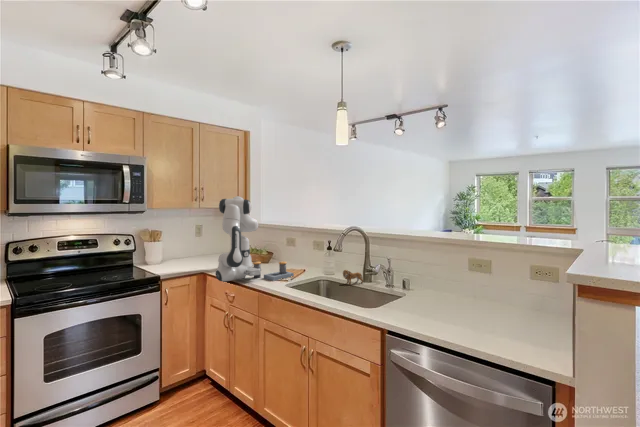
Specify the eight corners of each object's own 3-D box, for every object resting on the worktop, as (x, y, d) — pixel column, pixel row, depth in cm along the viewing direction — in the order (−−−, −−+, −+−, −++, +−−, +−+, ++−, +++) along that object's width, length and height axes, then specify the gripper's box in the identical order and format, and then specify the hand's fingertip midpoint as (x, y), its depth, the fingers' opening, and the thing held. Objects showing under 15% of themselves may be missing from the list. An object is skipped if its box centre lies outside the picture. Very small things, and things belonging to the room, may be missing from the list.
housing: (263, 278, 222) (263, 274, 222) (283, 274, 234) (283, 270, 234) (273, 280, 214) (273, 277, 214) (293, 276, 226) (293, 273, 226)
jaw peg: (251, 276, 225) (251, 262, 225) (258, 275, 229) (258, 261, 229) (256, 278, 221) (255, 263, 221) (263, 276, 225) (262, 262, 225)
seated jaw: (277, 276, 227) (276, 262, 226) (283, 275, 231) (283, 261, 230) (282, 277, 223) (282, 263, 222) (288, 276, 227) (288, 262, 226)
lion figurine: (344, 285, 202) (344, 270, 201) (341, 283, 207) (341, 269, 206) (365, 283, 207) (365, 268, 207) (361, 281, 212) (361, 267, 212)
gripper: (249, 269, 208) (267, 266, 218) (232, 264, 223) (249, 262, 233) (249, 279, 209) (267, 275, 218) (232, 274, 223) (250, 271, 233)
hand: (258, 268), depth 226 cm, fingers closed on jaw peg, 5 cm apart
